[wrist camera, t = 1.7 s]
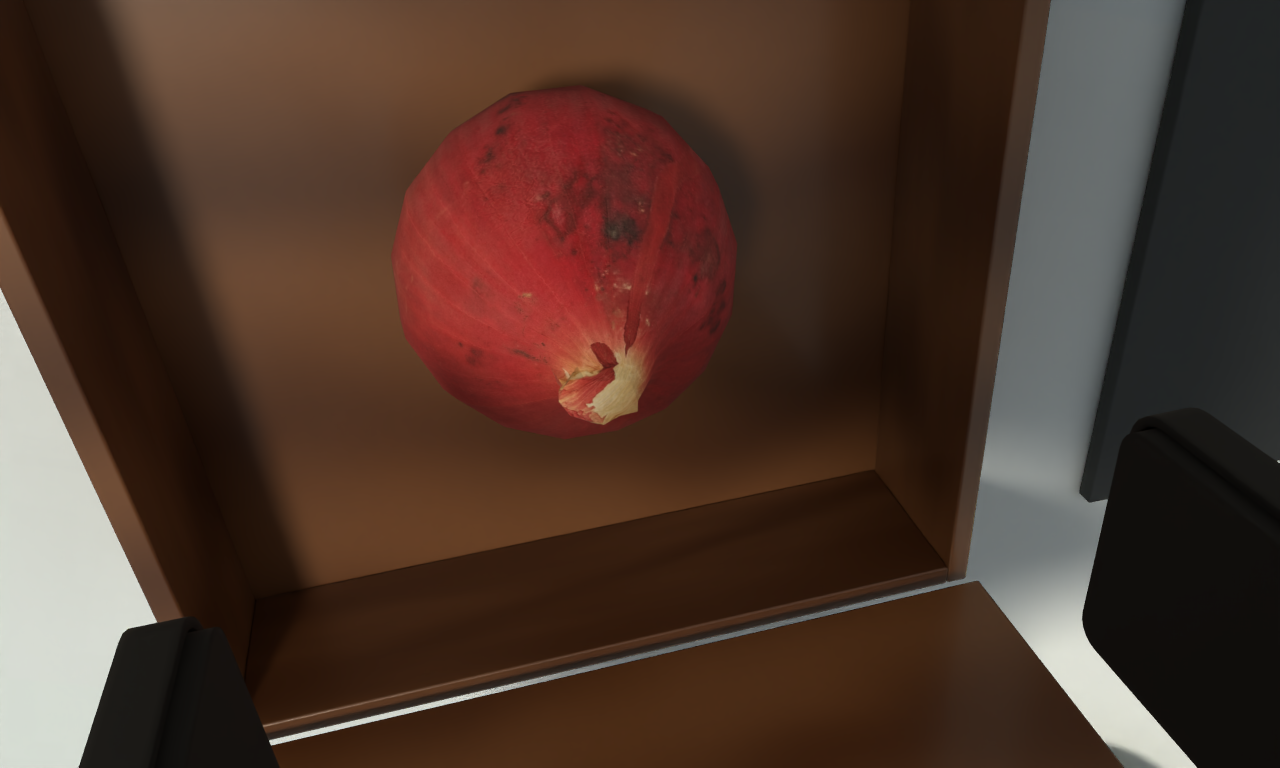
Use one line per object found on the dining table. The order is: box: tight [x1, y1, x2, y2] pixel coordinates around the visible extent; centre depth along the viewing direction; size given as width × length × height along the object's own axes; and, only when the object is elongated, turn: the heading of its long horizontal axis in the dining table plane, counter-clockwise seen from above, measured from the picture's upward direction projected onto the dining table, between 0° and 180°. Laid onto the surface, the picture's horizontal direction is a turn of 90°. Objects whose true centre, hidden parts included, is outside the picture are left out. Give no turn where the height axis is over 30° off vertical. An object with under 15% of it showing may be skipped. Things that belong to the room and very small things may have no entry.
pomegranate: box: [391, 85, 737, 439], centre depth 16 cm, size 6×6×8 cm
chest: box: [0, 0, 1051, 740], centre depth 18 cm, size 19×17×4 cm
